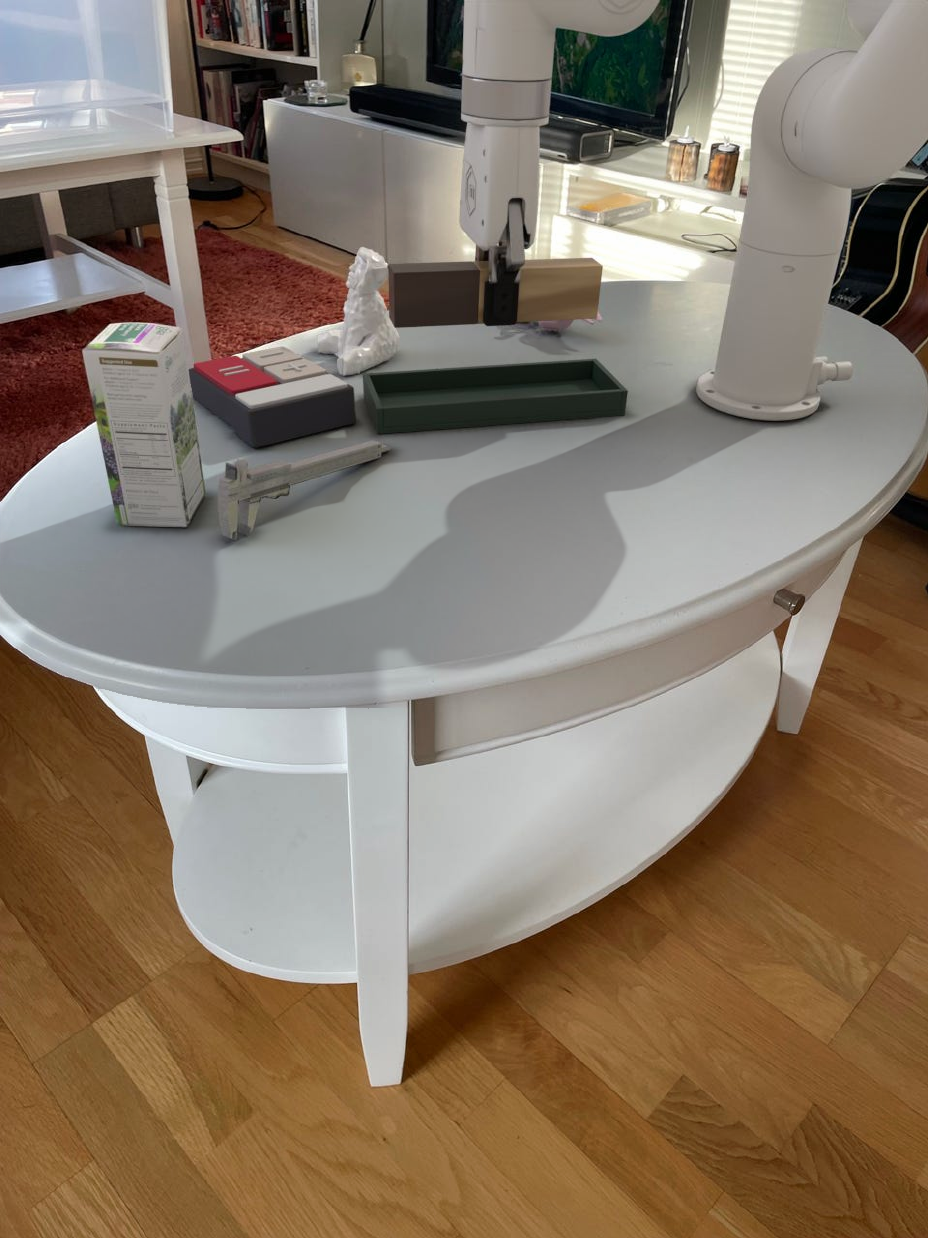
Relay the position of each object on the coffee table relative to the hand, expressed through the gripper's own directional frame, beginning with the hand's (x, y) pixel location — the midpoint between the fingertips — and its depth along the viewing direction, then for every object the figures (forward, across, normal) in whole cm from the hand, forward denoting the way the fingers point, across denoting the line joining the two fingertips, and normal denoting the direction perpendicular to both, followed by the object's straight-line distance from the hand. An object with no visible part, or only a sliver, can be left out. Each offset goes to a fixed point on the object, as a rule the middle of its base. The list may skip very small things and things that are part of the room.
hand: (494, 316), depth 89 cm
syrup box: (+10, +16, -32) cm, 37 cm away
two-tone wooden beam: (0, 0, 0) cm, 0 cm away
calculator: (+10, -3, -22) cm, 24 cm away
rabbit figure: (+9, -22, +13) cm, 27 cm away
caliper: (+10, +15, -20) cm, 27 cm away
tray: (+9, 0, 0) cm, 9 cm away
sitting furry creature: (+10, -16, -11) cm, 21 cm away
